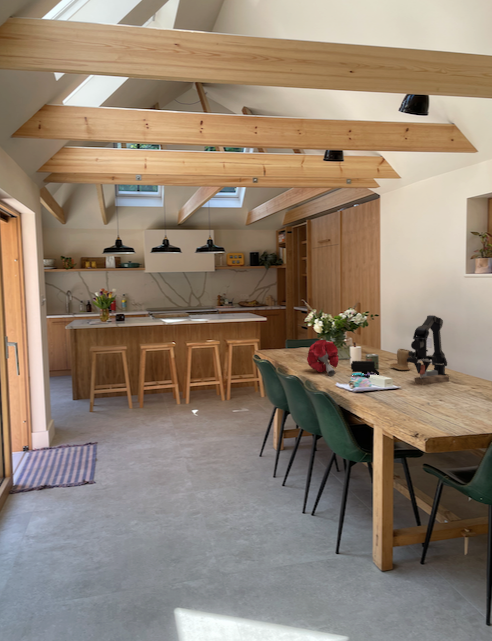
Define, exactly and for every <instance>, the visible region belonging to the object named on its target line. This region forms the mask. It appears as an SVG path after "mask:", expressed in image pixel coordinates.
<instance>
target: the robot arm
mask: <svg viewBox="0 0 492 641" xmlns="http://www.w3.org/2000/svg"><path fill="white" fill-rule="evenodd" d="M443 325H444V320H443V319H442V318H441V317H439V316H436V315H433V314H432V315H431V314H430V315H427V316H426V319H425V320H424V322H423V323H422V324H421V325H419V326H417V327H416V328H415V330H414V333H413V336H412V339H413V341H412V342H411V344H410V348H411V349H412V350H414V351H412V350H410V351H409V352H408V355H409V357H408V358H407V362H408V363H411V364H413V365H414V366H415V369H416V372H417V374H418V373H420V369H421V364H423V365H425V372H426V370H428V368H429V367H430V364H431V365H432V366H433V370H436V371H438V375H444V376H447V373H446V367H447V366H448V360H447V358H446V356H445V355H446V354H445V353H444V352H443V351H442V350H443V349H442V338H441V337H442V336H441V329H442V327H443ZM429 330H431V331H432V339H433V353H432V354H431V355H430V354H429V355H428V354H427V352H429V349H427V348H428V346H427V342H428V338H429V335H430V331H429Z"/></svg>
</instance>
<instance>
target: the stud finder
mask: <svg viewBox="0 0 492 641" xmlns="http://www.w3.org/2000/svg"><path fill="white" fill-rule="evenodd" d="M434 375H438V371H436V370H434V369H427V370H426V372H425V374H423V377H425V376H434Z"/></svg>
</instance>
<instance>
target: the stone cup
mask: <svg viewBox="0 0 492 641" xmlns="http://www.w3.org/2000/svg"><path fill="white" fill-rule="evenodd" d="M409 351H411V350H409V349H406V348H398V349H397V352H396V360H397V363H396V362H395V363H390V364H389V367H391V368H393V369H395V370H399V371H409V370H411V368H410V367H409V362H407V358H408V357H409V355H408V352H409Z"/></svg>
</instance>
